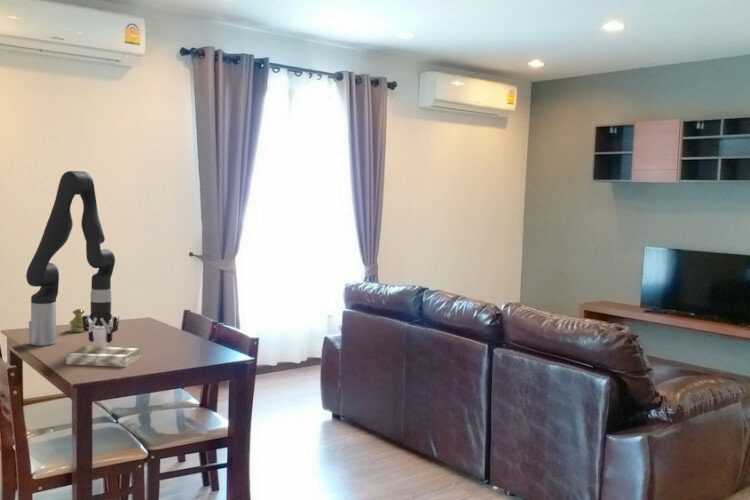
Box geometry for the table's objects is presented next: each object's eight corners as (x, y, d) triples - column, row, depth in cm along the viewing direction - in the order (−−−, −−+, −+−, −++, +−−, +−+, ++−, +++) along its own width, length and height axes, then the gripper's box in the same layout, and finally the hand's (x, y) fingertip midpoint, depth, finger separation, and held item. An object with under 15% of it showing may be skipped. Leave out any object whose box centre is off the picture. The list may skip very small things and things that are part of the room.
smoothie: (92, 354, 263) (92, 319, 262) (91, 351, 268) (91, 316, 267) (109, 353, 266) (110, 318, 265) (108, 349, 271) (108, 315, 270)
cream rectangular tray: (66, 364, 247) (66, 354, 247) (83, 355, 261) (83, 345, 261) (125, 366, 247) (125, 356, 246) (139, 357, 261) (139, 348, 260)
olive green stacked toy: (75, 328, 309) (75, 307, 308) (90, 330, 308) (90, 308, 307) (65, 332, 301) (66, 309, 300) (81, 333, 300) (81, 311, 299)
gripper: (78, 300, 262) (78, 343, 263) (115, 302, 262) (114, 344, 263) (87, 297, 269) (86, 339, 271) (122, 299, 269) (122, 340, 270)
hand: (100, 341), depth 267 cm, fingers closed on smoothie, 6 cm apart
